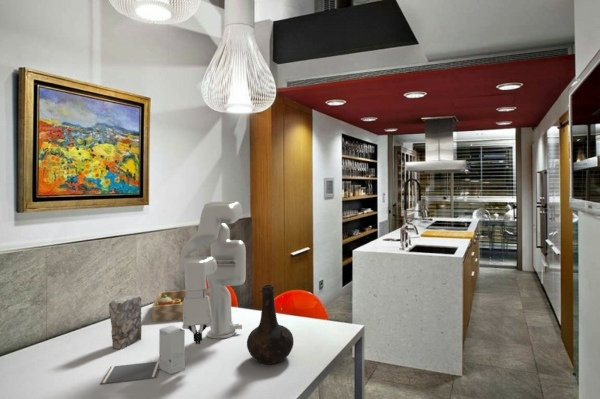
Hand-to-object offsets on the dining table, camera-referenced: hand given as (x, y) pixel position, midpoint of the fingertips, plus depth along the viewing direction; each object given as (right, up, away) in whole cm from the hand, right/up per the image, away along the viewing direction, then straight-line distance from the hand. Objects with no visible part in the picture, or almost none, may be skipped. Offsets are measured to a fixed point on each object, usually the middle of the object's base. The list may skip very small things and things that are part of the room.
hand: (198, 342), depth 152 cm
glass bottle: (+27, -8, +5) cm, 28 cm away
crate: (-30, -9, +75) cm, 81 cm away
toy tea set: (-29, -8, +75) cm, 81 cm away
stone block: (-37, -10, +26) cm, 46 cm away
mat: (-23, -10, -4) cm, 25 cm away
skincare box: (-9, -9, -2) cm, 13 cm away
